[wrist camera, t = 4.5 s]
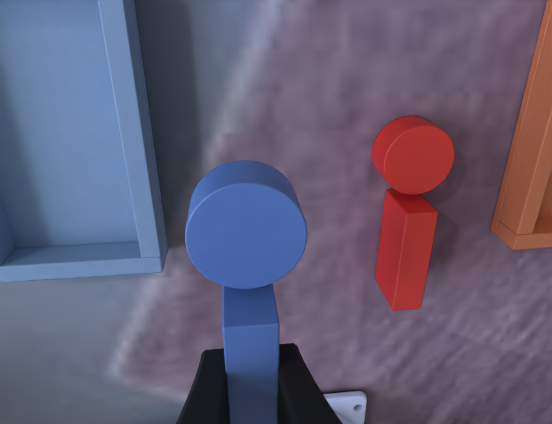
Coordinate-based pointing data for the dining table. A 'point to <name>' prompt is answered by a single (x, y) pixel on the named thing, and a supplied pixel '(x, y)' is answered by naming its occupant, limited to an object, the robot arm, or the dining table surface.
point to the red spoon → (408, 205)
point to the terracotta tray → (530, 157)
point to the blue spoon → (247, 273)
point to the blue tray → (76, 144)
